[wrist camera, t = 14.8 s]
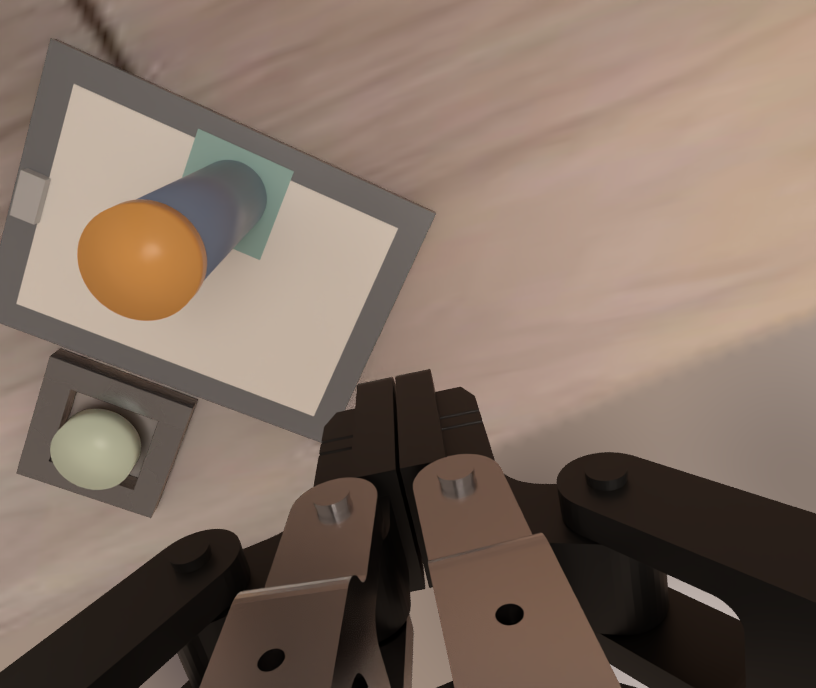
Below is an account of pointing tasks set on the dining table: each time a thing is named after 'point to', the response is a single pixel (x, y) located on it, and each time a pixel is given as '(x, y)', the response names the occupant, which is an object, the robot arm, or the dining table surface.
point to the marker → (169, 240)
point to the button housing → (122, 391)
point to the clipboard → (236, 274)
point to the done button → (95, 449)
